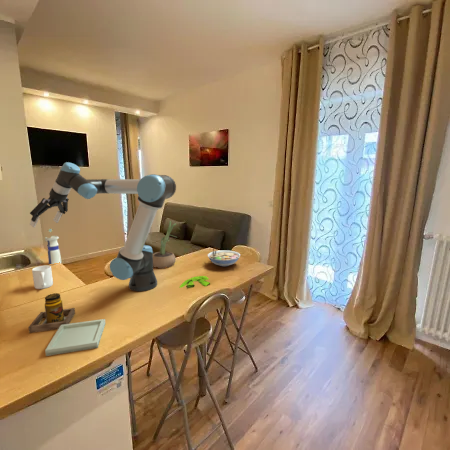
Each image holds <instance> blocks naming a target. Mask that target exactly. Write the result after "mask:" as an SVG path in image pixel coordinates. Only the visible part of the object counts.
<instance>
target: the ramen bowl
mask: <svg viewBox="0 0 450 450" xmlns="http://www.w3.org/2000/svg"><path fill="white" fill-rule="evenodd" d="M207 257H208V258H209V261H211V262H212V264H214V265H217V266H220V267H229V266H232V265H234V264H236V263H237V262H238V260H239V259H240V257H241V254H240V252H238V251H233V250H229V249H227V250H217V248H213V251H211V252H209V253H207Z"/></svg>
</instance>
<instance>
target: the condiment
mask: <svg viewBox="0 0 450 450" xmlns="http://www.w3.org/2000/svg"><path fill="white" fill-rule="evenodd" d="M44 302H45V303H44V310H45V311H46V318H44V319H45V320H44V321H43V322H42V323H41V324H47V323H54V322H62V321H65V319H66V317H67V316H64V313H63V309H64V307H63V300H62V298H61V294H60V293H56V292H55V293H49V294H47V295H46V296H45V297H44ZM45 311H44V312H45Z"/></svg>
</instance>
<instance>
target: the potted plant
mask: <svg viewBox="0 0 450 450" xmlns="http://www.w3.org/2000/svg"><path fill="white" fill-rule="evenodd" d="M168 222H169V223H168V227H167V230H166V231H167V232H166V235H165V236H163V237H161V240H160V249H159V251H157V252H153V268H156V267H158V268H157V269H166V268H165V267H167V268H170V267H172V266H174V265H175V263H176V256H175V254H174V253H173V252H172V251H166V245H167V242H170V237H174V238H175V239H176V238H177V239H178V237H177V236H176V235H173V234H171V233H172V230H173V228H174V227H175V226H176V228H178V230H179V231H181V228H179V227H177V223H176V222H175V223H173V224H172V221H171V220H169V221H168Z"/></svg>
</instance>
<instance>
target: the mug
mask: <svg viewBox="0 0 450 450" xmlns="http://www.w3.org/2000/svg"><path fill="white" fill-rule="evenodd" d="M31 273H32V280H33V287H34V289H36V290H44V289H47V288H50V287H52V286H53V284H54V281H53V280H54V279H53V272H52V265H49V264H48V265H40V266H35V267H34V268H32V269H31Z"/></svg>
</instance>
